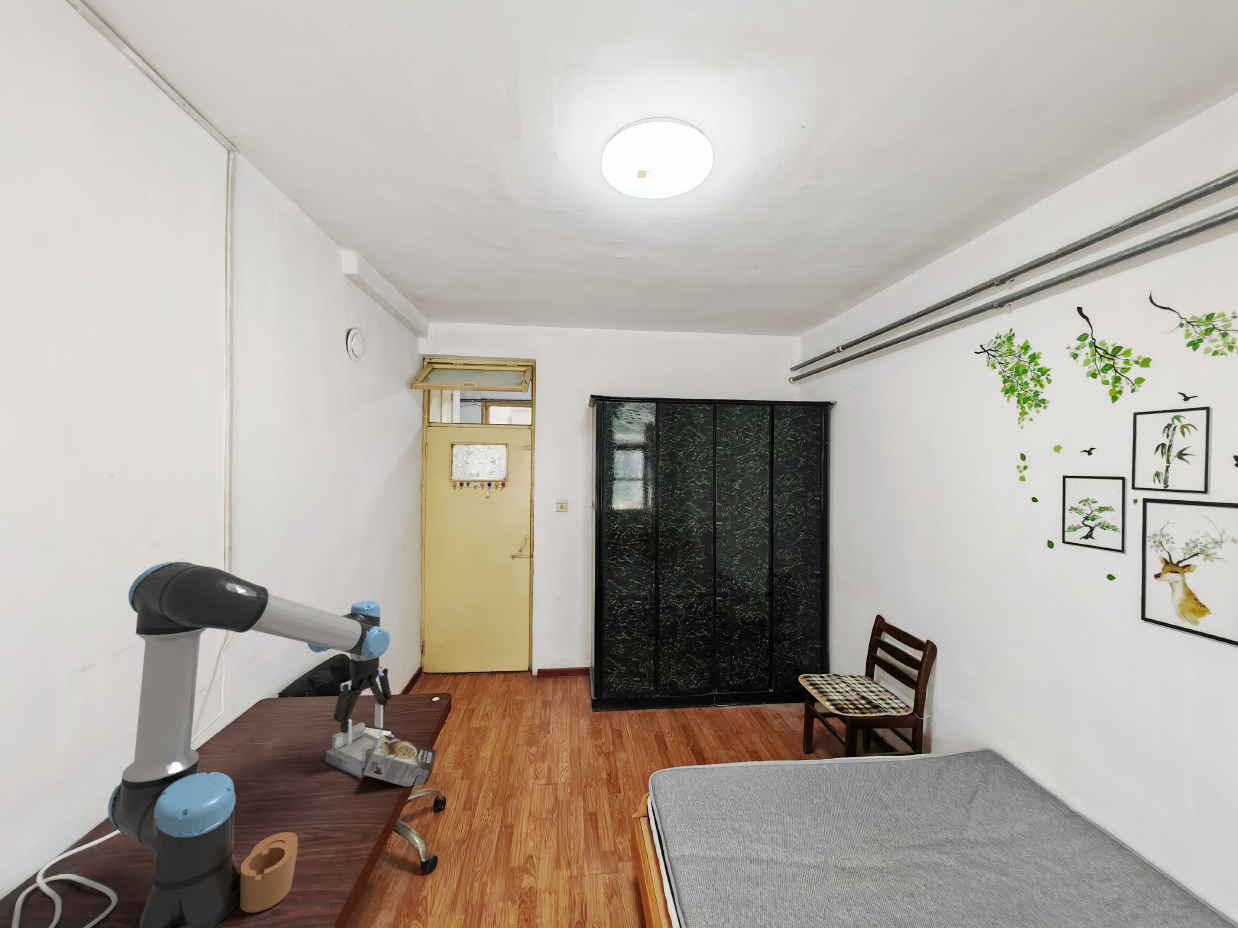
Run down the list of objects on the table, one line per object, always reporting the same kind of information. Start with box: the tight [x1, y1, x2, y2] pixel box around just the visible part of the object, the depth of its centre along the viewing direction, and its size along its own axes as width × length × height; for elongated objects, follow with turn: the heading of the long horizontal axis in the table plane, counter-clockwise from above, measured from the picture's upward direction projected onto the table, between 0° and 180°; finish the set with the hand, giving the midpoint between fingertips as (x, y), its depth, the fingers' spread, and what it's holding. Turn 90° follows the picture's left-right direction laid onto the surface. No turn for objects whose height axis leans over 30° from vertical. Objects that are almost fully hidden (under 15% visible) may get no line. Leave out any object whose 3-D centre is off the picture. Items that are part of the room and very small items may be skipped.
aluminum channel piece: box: [325, 721, 395, 779], centre depth 144 cm, size 12×16×7 cm
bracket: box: [239, 831, 299, 914], centre depth 103 cm, size 18×8×7 cm, turn 27°
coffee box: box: [363, 733, 437, 787], centre depth 136 cm, size 9×6×16 cm
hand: (363, 734), depth 144 cm, fingers open, 9 cm apart
